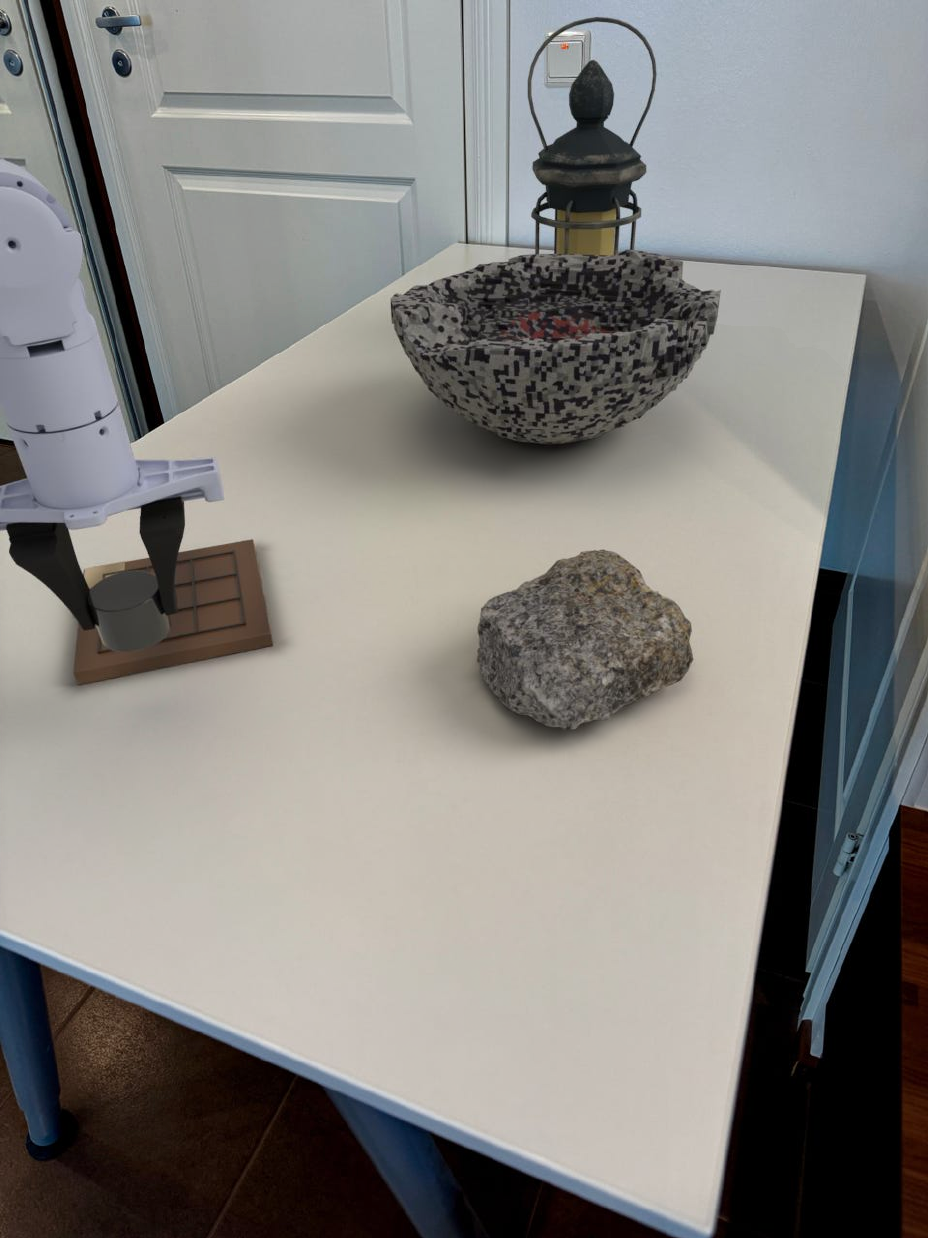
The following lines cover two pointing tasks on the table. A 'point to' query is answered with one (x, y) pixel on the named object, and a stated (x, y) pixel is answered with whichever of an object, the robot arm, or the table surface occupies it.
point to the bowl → (556, 341)
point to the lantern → (588, 164)
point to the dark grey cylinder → (128, 611)
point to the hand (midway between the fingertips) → (130, 613)
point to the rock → (582, 641)
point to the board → (188, 614)
